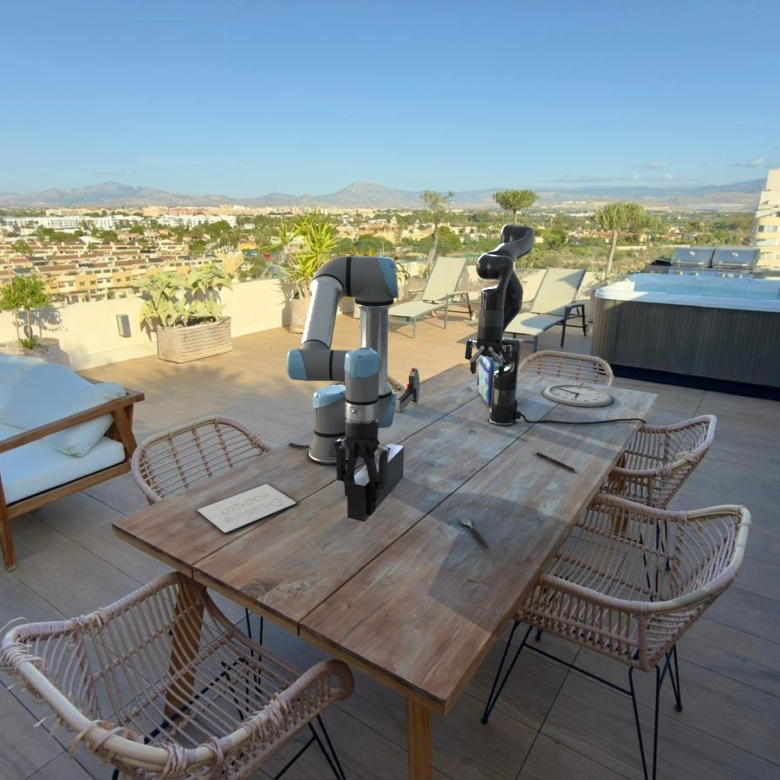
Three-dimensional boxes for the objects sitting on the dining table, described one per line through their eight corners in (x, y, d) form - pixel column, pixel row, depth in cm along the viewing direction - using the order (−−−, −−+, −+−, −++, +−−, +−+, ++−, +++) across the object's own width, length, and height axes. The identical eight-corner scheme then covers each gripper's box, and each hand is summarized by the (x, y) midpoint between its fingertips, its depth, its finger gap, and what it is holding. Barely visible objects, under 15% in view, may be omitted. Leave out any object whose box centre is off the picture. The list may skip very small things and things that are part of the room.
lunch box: (475, 390, 246) (478, 346, 240) (498, 390, 246) (501, 347, 240) (484, 408, 221) (487, 360, 215) (509, 409, 221) (513, 360, 215)
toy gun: (393, 376, 211) (414, 366, 222) (394, 412, 217) (415, 401, 228) (398, 377, 210) (419, 367, 221) (399, 414, 216) (419, 402, 227)
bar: (388, 474, 145) (388, 443, 143) (403, 477, 144) (403, 446, 141) (347, 517, 123) (346, 482, 121) (364, 522, 122) (364, 485, 119)
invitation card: (266, 483, 153) (296, 502, 143) (266, 484, 153) (296, 503, 143) (197, 509, 139) (225, 532, 129) (197, 510, 139) (225, 533, 129)
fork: (482, 550, 123) (483, 543, 123) (456, 516, 138) (457, 509, 138) (492, 549, 124) (493, 542, 124) (465, 515, 139) (466, 508, 138)
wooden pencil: (536, 454, 177) (536, 452, 176) (537, 454, 177) (537, 451, 177) (573, 471, 165) (573, 468, 164) (574, 471, 165) (574, 468, 165)
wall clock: (625, 402, 226) (558, 403, 224) (625, 406, 227) (558, 407, 224) (594, 383, 255) (534, 383, 252) (593, 386, 255) (534, 386, 253)
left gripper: (319, 418, 118) (321, 509, 125) (391, 429, 112) (389, 526, 118) (335, 408, 125) (336, 496, 131) (404, 419, 118) (401, 510, 125)
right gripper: (463, 322, 157) (460, 374, 162) (509, 328, 150) (505, 382, 155) (473, 319, 164) (469, 369, 168) (517, 324, 157) (512, 376, 161)
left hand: (361, 510), depth 125 cm, fingers closed on bar, 4 cm apart
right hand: (486, 375), depth 162 cm, fingers open, 8 cm apart
